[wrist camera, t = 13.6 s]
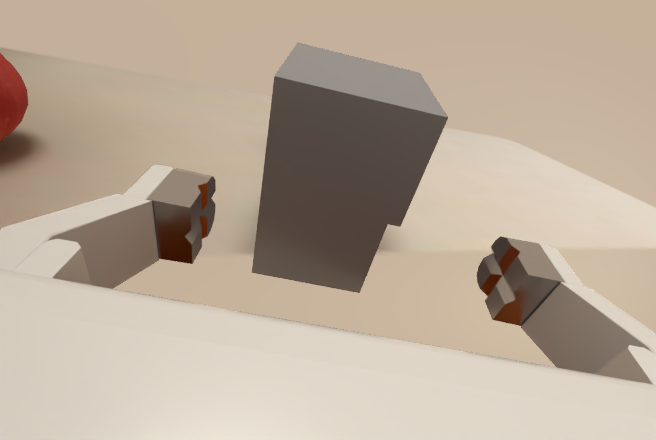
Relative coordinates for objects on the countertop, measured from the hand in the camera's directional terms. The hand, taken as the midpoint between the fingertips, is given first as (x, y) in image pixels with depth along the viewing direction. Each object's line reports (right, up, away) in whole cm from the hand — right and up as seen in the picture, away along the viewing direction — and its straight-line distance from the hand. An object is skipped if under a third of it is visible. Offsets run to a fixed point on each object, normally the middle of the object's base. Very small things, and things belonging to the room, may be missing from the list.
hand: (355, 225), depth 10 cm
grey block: (-1, -1, +11) cm, 11 cm away
